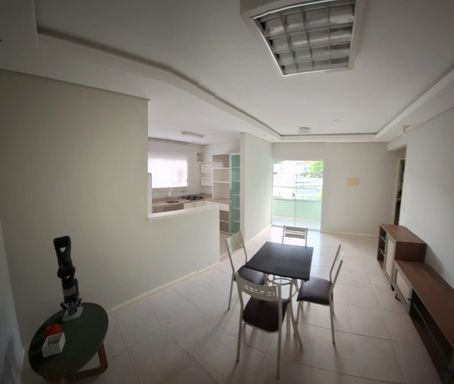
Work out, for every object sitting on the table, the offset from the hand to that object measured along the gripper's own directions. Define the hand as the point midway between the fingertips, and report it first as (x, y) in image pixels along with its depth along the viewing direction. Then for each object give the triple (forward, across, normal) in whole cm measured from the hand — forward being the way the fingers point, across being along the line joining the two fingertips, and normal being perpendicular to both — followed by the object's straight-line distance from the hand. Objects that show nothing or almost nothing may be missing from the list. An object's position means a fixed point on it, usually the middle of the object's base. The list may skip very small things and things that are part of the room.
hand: (72, 312), depth 156 cm
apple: (+24, +18, -10) cm, 32 cm away
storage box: (+24, +13, +3) cm, 27 cm away
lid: (+2, 0, 0) cm, 2 cm away
